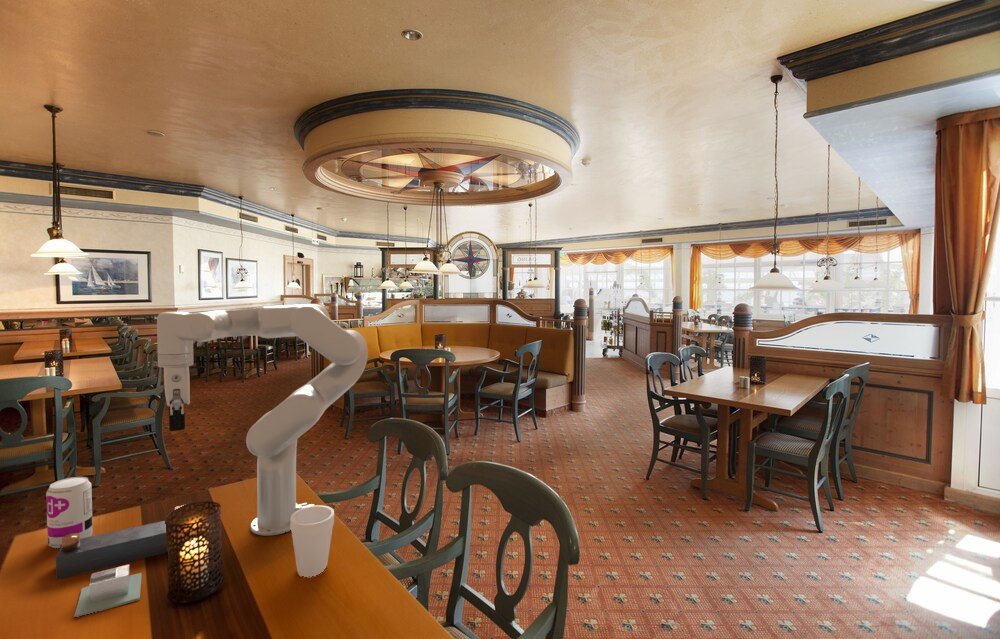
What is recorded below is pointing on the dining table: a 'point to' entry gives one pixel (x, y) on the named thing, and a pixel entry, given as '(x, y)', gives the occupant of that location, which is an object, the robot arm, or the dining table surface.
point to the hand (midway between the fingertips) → (176, 425)
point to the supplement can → (69, 509)
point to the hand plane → (109, 548)
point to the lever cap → (109, 584)
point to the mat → (87, 608)
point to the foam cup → (312, 538)
